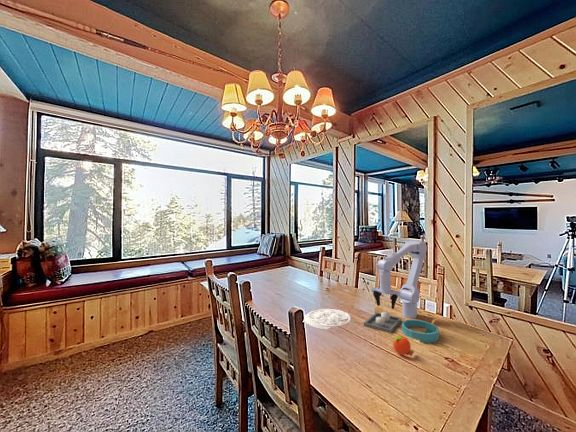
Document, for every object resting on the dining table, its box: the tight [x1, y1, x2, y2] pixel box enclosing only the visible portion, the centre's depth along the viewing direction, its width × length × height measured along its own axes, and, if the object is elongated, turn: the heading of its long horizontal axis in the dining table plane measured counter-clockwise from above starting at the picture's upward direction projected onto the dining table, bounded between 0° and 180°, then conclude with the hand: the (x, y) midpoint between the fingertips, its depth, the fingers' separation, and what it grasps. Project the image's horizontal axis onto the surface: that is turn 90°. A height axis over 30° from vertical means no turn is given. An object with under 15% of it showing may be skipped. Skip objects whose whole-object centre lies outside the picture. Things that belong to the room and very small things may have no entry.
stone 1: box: [376, 317, 385, 327], centre depth 135 cm, size 4×4×4 cm
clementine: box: [392, 335, 412, 355], centre depth 110 cm, size 8×7×7 cm
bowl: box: [401, 319, 440, 344], centre depth 126 cm, size 16×16×4 cm
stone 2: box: [380, 311, 391, 322], centre depth 141 cm, size 4×4×4 cm
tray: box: [363, 312, 403, 334], centre depth 138 cm, size 18×14×2 cm
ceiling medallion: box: [303, 308, 352, 331], centre depth 147 cm, size 28×28×3 cm
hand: (385, 306), depth 140 cm, fingers open, 7 cm apart
